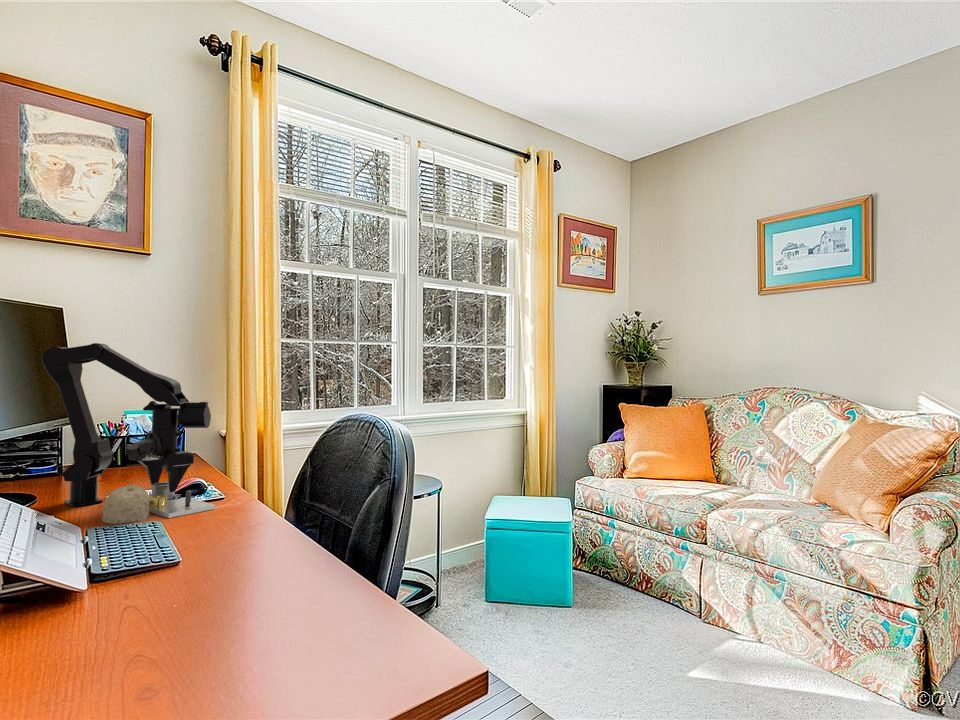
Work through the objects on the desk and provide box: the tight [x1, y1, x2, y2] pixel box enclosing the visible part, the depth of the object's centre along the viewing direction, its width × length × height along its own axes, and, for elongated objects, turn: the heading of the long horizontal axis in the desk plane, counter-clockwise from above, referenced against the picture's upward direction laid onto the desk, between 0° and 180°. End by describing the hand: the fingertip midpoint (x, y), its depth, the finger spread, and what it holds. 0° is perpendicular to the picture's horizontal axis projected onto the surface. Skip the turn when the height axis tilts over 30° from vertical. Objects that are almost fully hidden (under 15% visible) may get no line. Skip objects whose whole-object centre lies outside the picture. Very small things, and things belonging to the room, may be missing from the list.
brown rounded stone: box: [101, 484, 150, 525], centre depth 129 cm, size 9×10×10 cm
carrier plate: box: [148, 490, 216, 519], centre depth 138 cm, size 13×12×4 cm
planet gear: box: [148, 481, 182, 500], centre depth 145 cm, size 8×8×4 cm
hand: (163, 489), depth 145 cm, fingers open, 9 cm apart
